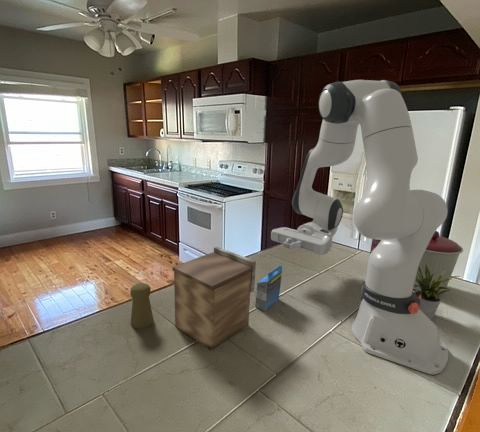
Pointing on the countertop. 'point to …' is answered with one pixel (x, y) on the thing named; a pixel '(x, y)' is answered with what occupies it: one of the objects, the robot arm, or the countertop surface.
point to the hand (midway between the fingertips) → (287, 245)
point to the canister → (439, 259)
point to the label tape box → (268, 289)
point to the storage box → (212, 309)
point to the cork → (141, 306)
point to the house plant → (430, 291)
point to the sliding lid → (217, 268)
